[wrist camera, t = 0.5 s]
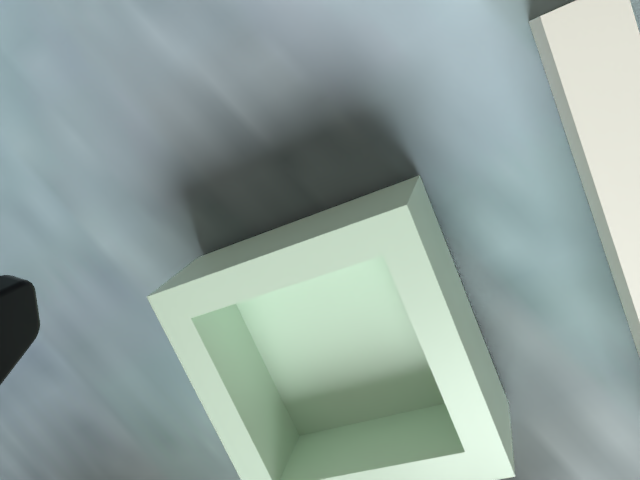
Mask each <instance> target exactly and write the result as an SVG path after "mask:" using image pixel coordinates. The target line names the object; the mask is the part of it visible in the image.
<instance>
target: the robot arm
mask: <svg viewBox="0 0 640 480" xmlns="http://www.w3.org/2000/svg"><path fill="white" fill-rule="evenodd" d="M39 328H40V319H39V312H38V305H37V299H36V292H35V288H34V286H33V284H32V283H31V282H29V281H27V280H24V279H21V278H18V277H14V276H10V275H2V276H0V385H1V383H2V382H3V381H4V379H5V378H6V377H7V376H8V374H9V373H10V372H11V370H12V369H13V368H14V366H15V365H16V364H17V362H18V361H19V360H20V358H21V357H22V356H23V355H24V353H25V352H26V351H27V349H28V348H29V347H30V345H31V344H32V343H33V341H34V340H35V338H36V336H37V334H38V332H39Z"/></svg>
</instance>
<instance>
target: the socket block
mask: <svg viewBox="0 0 640 480" xmlns="http://www.w3.org/2000/svg"><path fill="white" fill-rule="evenodd" d="M147 298H148V300H149V302H150V304H151V306H152V308H153V310H154V312H155V314H156V316H157V318H158V320H159V321H160V323H161V325H162V327H163V329H164V331H165V333H166V335H167V337H168V339H169V341H170V343H171V345H172V347H173V349H174V351H175V353H176V355H177V356H178V358H179V360H180V362H181V364H182V366H183V368H184V370H185V372H186V374H187V376H188V378H189V380H190V382H191V384H192V386H193V388H194V389H195V391H196V393H197V395H198V397H199V399H200V401H201V403H202V405H203V407H204V409H205V411H206V413H207V415H208V417H209V419H210V421H211V422H212V424H213V426H214V428H215V430H216V432H217V434H218V436H219V438H220V440H221V442H222V444H223V446H224V448H225V450H226V452H227V454H228V455H229V457H230V459H231V461H232V463H233V465H234V467H235V469H236V471H237V473H238V475H239V477H240V479H241V480H498V479H504V478H510V477H515V467H514V456H513V445H512V434H511V423H510V412H509V403H508V401H507V398H506V395H505V393H504V390H503V388H502V385H501V383H500V380H499V377H498V375H497V372H496V370H495V367H494V365H493V362H492V360H491V357H490V354H489V352H488V349H487V347H486V344H485V342H484V339H483V336H482V334H481V331H480V329H479V326H478V324H477V321H476V318H475V316H474V313H473V311H472V308H471V306H470V303H469V301H468V298H467V295H466V293H465V290H464V288H463V285H462V283H461V280H460V277H459V275H458V272H457V270H456V267H455V265H454V262H453V259H452V257H451V254H450V252H449V249H448V247H447V244H446V241H445V239H444V236H443V234H442V231H441V229H440V226H439V224H438V221H437V218H436V216H435V213H434V211H433V208H432V206H431V203H430V200H429V198H428V195H427V193H426V190H425V188H424V185H423V182H422V180H421V177H420V175H419V176H416V177H413V178H411V179H408V180H405V181H403V182H400V183H397V184H395V185H392V186H389V187H386V188H384V189H381V190H378V191H376V192H373V193H370V194H368V195H365V196H362V197H359V198H357V199H354V200H351V201H349V202H346V203H343V204H341V205H338V206H335V207H332V208H330V209H327V210H324V211H322V212H319V213H316V214H314V215H311V216H308V217H305V218H303V219H300V220H297V221H295V222H292V223H289V224H287V225H284V226H281V227H278V228H276V229H273V230H270V231H268V232H265V233H262V234H260V235H257V236H254V237H251V238H249V239H246V240H243V241H241V242H238V243H235V244H233V245H230V246H227V247H224V248H222V249H219V250H216V251H214V252H211V253H208V254H206V255H203V256H200V257H198V258H197V259H196V260H194V261H193V262H192V263H190V264H189V265H188V266H186V267H185V268H184V269H183V270H181V271H180V272H179V273H177V274H176V275H175V276H173V277H172V278H171V279H169V280H168V281H167V282H166V283H164V284H163V285H162V286H160V287H159V288H158V289H156V290H155V291H154V292H152V293H151V294H150V295H149V296H147Z"/></svg>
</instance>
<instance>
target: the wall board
mask: <svg viewBox="0 0 640 480" xmlns="http://www.w3.org/2000/svg"><path fill="white" fill-rule="evenodd" d="M529 24H530V27H531V30H532V33H533V36H534V39H535V42H536V45H537V49H538V52H539V55H540V58H541V61H542V64H543V67H544V70H545V73H546V76H547V79H548V82H549V85H550V88H551V91H552V94H553V97H554V100H555V103H556V106H557V109H558V112H559V115H560V118H561V121H562V124H563V127H564V130H565V133H566V136H567V139H568V142H569V146H570V149H571V152H572V155H573V158H574V161H575V164H576V167H577V170H578V173H579V176H580V179H581V182H582V185H583V188H584V191H585V194H586V197H587V200H588V203H589V206H590V209H591V212H592V215H593V218H594V221H595V224H596V227H597V230H598V233H599V236H600V239H601V242H602V246H603V249H604V252H605V255H606V258H607V261H608V264H609V267H610V270H611V273H612V276H613V279H614V282H615V285H616V288H617V291H618V294H619V297H620V300H621V303H622V306H623V309H624V312H625V315H626V318H627V321H628V324H629V327H630V330H631V333H632V336H633V339H634V343H635V346H636V349H637V352H638V355H639V358H640V33H639V30H638V26H637V23H636V19H635V16H634V13H633V9H632V6H631V2H630V0H576V1H573V2H571V3H569V4H567V5H564V6H562V7H560V8H557V9H555V10H553V11H551V12H548V13H546V14H544V15H541V16H539V17H537V18H535V19H533V20H530V21H529Z"/></svg>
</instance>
